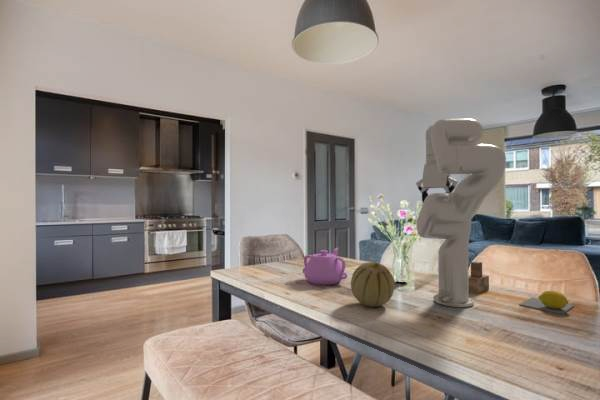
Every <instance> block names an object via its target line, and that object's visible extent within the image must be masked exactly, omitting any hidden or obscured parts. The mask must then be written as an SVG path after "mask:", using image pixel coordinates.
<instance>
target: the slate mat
mask: <svg viewBox="0 0 600 400" xmlns="http://www.w3.org/2000/svg"><path fill="white" fill-rule="evenodd" d="M518 305H519V306H521V307H525V308H531V309H534V310H538V311H539V310H540V311H546V312H549V313H554V314H559V315H564V314H565V313H567V312H569V311H570V310H571V309H573V308H574V304H569V303H568V304H567V305H566V306H565V307H564V308H562V309H553V308H549V307H547V306H545V305H544V304H543V303H542V302H541V300H540V299H539V298H535V297H531V298H529V299H527V300H524V301H523V302H521V303H519V304H518Z"/></svg>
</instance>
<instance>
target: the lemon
mask: <svg viewBox="0 0 600 400" xmlns="http://www.w3.org/2000/svg"><path fill="white" fill-rule="evenodd" d="M538 299H540V300H541V302H542V303H543V304H544V305H545V306H547V307H549V308H553V309H562V308H564V307H565V306H566V305H567V304H569V300H568V298H567V296H565V294H563V293H561V292H559V291H555V290H546V291H543V292H542V293H541V294H540V295H538Z"/></svg>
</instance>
